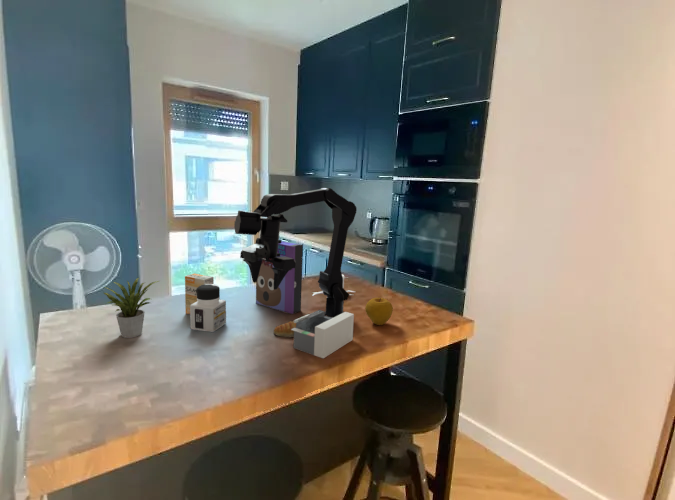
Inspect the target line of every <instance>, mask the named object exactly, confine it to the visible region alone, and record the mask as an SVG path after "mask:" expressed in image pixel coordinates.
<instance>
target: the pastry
mask: <svg viewBox="0 0 675 500" xmlns="http://www.w3.org/2000/svg"><path fill="white" fill-rule="evenodd" d="M293 328H296V323H294V320H293V321H291V320H290V321H288V322H285V323H282V324H280V325H278V326H275V327H274V329H273V334H274V335H276V336H277V337H285V338H294V331H293V330H291V329H293Z"/></svg>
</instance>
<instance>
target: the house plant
mask: <svg viewBox="0 0 675 500" xmlns="http://www.w3.org/2000/svg"><path fill="white" fill-rule="evenodd" d="M126 282H127V285H128V286H127V287H128V291H127V289H126V287H125V286H124V285H123V284H120V283H119V282H117V281H113V283H114V284H116V286H117V287H118V288H120V289H121V293H122V294H123V296H122V295H121V294H120V293H118V292H116V291H115V290H114V289H111V288H109V287H106V286H104V287H103V289H104V288H105V289H107V290H110V291H111V292H112V294H115V296H114V295H112V294H110V293H107V292H103V294H104V295H105V296H106V297H107V298H108V299H109V300H110V301H108V302H106V303H105V305H107V304H111V303H112V306H114V307H115V306H116V307H118V308H117V309H116V310H115V311H114V312H118V311H120V312H118V313H116V315H115V316H116V319H117V324H118V328H119V332H120V335H121V337H122V338H125V339H128V338H130V339H131V338H136V337H138V336H141V335H142V334H143V328H144V320H145V314H146V313H145V310H143V309H140V308H141V307H143V306H145V305H148V304H151V302H149V300H151V298H150V297H146V298H144V299H142V300H141V298H142V297H143V296H144V295H145V293H146V292H147V291H148V290H149V288H150V286H152V285H153V284H155V283H158V282H160V280H158V281H157V280H156V281H153V282H150V283H149V284H148V285H145V286H144V288H143V285H144V284H145V282H142V283H140V284H139V286H138V288H137V285H138V283H139V277H137V278H136V279H135V280H134V281H133V283H132V286H131V284H130V282H129V281H128V280H126ZM136 288H137V289H136ZM142 288H143V289H142ZM116 297H117V298H116ZM118 298H119V299H118Z"/></svg>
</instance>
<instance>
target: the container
mask: <svg viewBox="0 0 675 500" xmlns="http://www.w3.org/2000/svg"><path fill="white" fill-rule="evenodd" d="M220 295H221V294H220V286H219V285H217V284H204V285H201V286H199V287H198V288H197V302H195V303H193V304H191V305H190V314H189V315H190V316H189V318H190V329H191V330H195V331H201V332H209V333H210V332H211V333H214V332H216V331H217V330H218V329H220V328H221V327H222V326H224V325H226V323H227V301H226V300H225V299H220V298H221V297H220Z"/></svg>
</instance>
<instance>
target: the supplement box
mask: <svg viewBox="0 0 675 500" xmlns="http://www.w3.org/2000/svg"><path fill="white" fill-rule="evenodd" d="M214 279H215V277H214V276H210V275H205V274H200V273H199V274H198V273H191V274H187V275H185V276H184V292H185V295H184V296H185V297H184V298H185V299H184V300H185V301H184V303H185V304H184V306H185V314H187V315H190V305H191V304H193V303H195V302H197V288H198V287H199V286H201V285H204V284H214Z"/></svg>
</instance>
